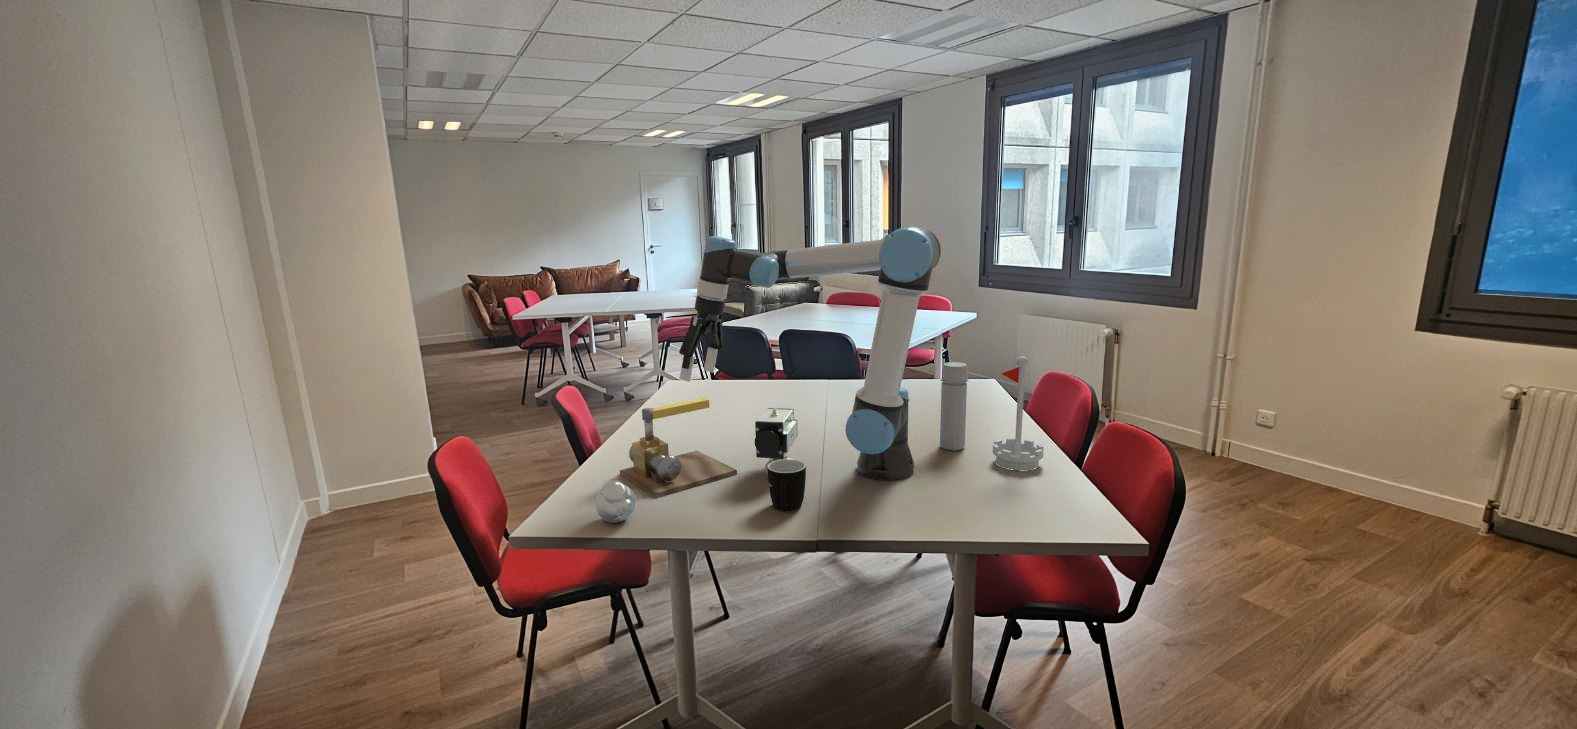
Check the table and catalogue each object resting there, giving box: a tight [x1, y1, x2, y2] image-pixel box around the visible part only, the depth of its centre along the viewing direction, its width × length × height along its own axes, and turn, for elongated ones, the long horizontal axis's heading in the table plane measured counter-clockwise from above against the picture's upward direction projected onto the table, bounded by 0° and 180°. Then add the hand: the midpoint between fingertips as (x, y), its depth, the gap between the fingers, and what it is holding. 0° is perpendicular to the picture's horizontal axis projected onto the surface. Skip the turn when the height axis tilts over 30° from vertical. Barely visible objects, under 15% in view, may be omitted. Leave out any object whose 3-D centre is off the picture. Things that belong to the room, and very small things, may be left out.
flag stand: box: [992, 355, 1044, 470], centre depth 177 cm, size 13×13×30 cm
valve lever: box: [641, 397, 710, 422], centre depth 179 cm, size 20×3×3 cm, turn 128°
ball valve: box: [754, 407, 799, 476], centre depth 176 cm, size 18×8×18 cm, turn 168°
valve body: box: [628, 419, 681, 483], centre depth 174 cm, size 7×17×14 cm, turn 38°
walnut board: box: [619, 450, 738, 499], centre depth 178 cm, size 24×21×1 cm
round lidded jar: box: [594, 480, 636, 524], centre depth 149 cm, size 9×10×10 cm
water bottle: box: [939, 361, 969, 452], centre depth 193 cm, size 9×8×25 cm
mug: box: [767, 459, 807, 512], centre depth 154 cm, size 12×9×10 cm
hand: (697, 375), depth 176 cm, fingers open, 13 cm apart
